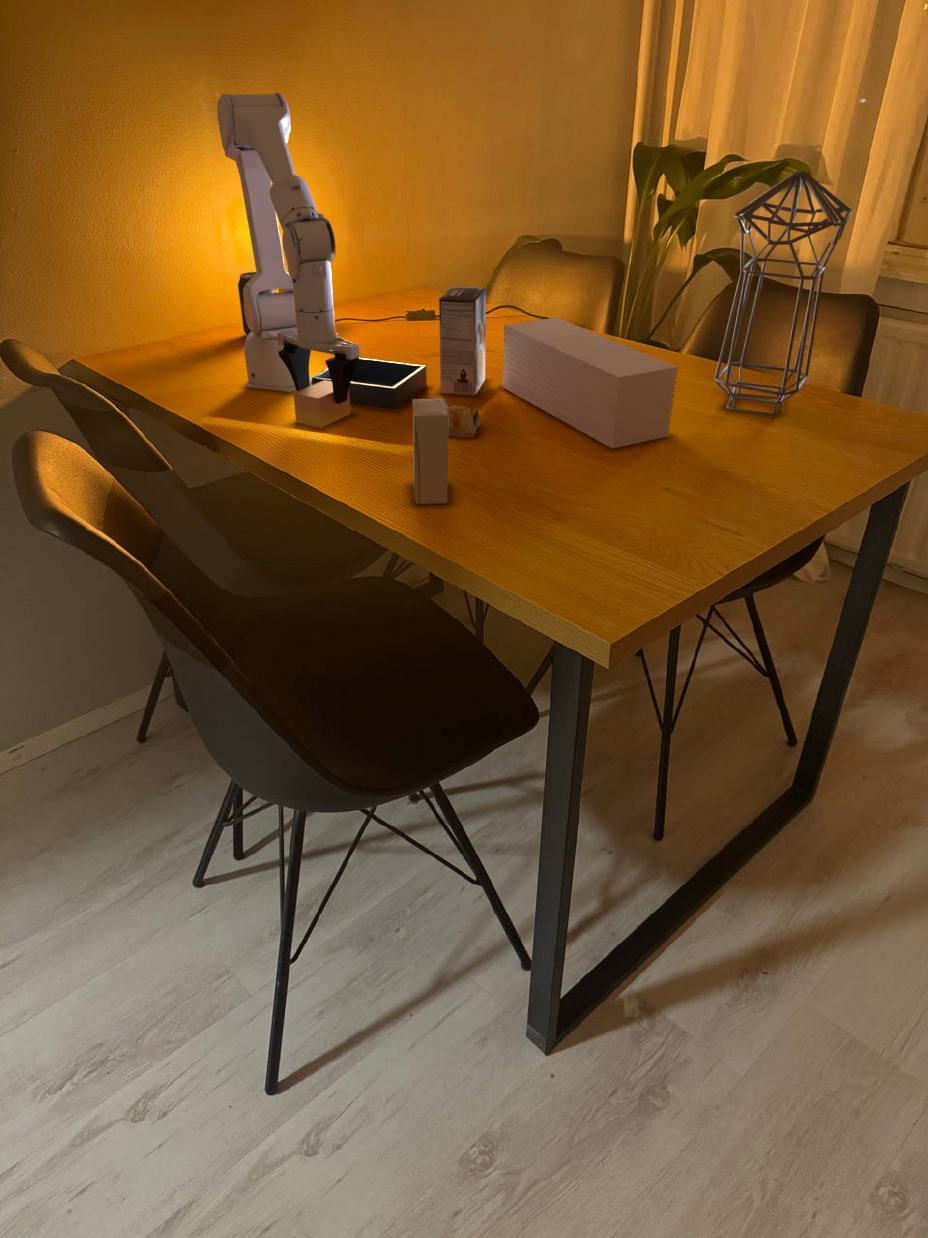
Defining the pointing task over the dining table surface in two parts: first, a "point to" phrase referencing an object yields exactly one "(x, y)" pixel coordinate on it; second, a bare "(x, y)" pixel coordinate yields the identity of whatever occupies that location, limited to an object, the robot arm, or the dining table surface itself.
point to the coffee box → (462, 340)
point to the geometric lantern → (748, 216)
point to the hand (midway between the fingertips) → (322, 397)
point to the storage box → (382, 382)
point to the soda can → (242, 282)
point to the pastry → (463, 421)
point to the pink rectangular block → (319, 405)
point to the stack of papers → (589, 381)
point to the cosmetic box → (430, 450)
